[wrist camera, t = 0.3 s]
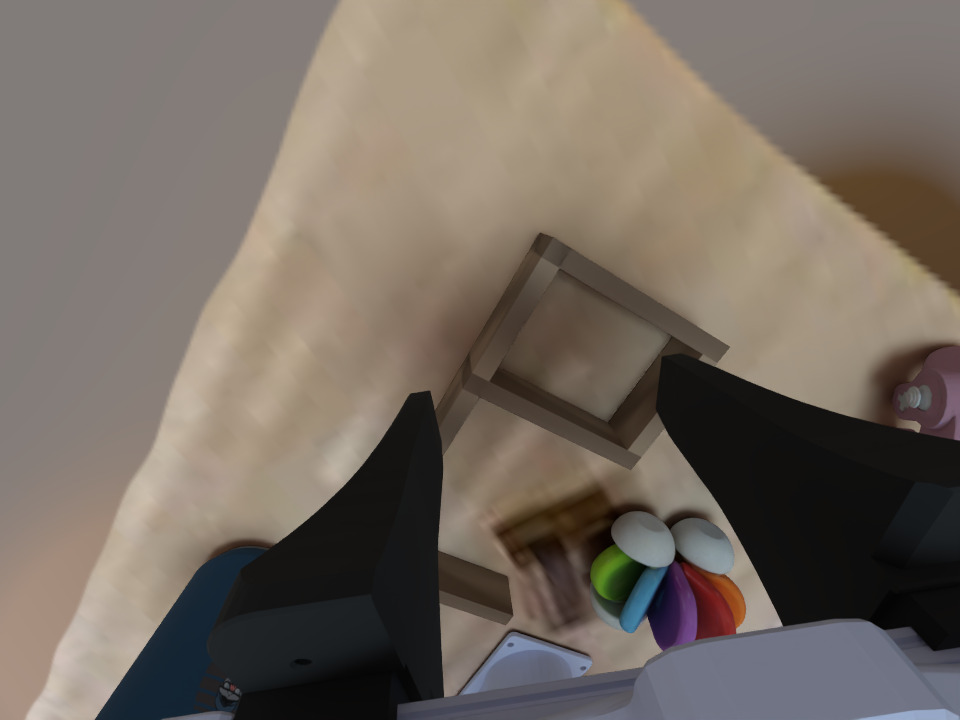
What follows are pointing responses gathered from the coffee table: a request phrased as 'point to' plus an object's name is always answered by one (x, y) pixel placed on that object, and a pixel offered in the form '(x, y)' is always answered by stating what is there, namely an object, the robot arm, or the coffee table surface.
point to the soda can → (183, 652)
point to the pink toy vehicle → (933, 395)
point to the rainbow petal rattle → (667, 580)
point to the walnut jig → (486, 380)
